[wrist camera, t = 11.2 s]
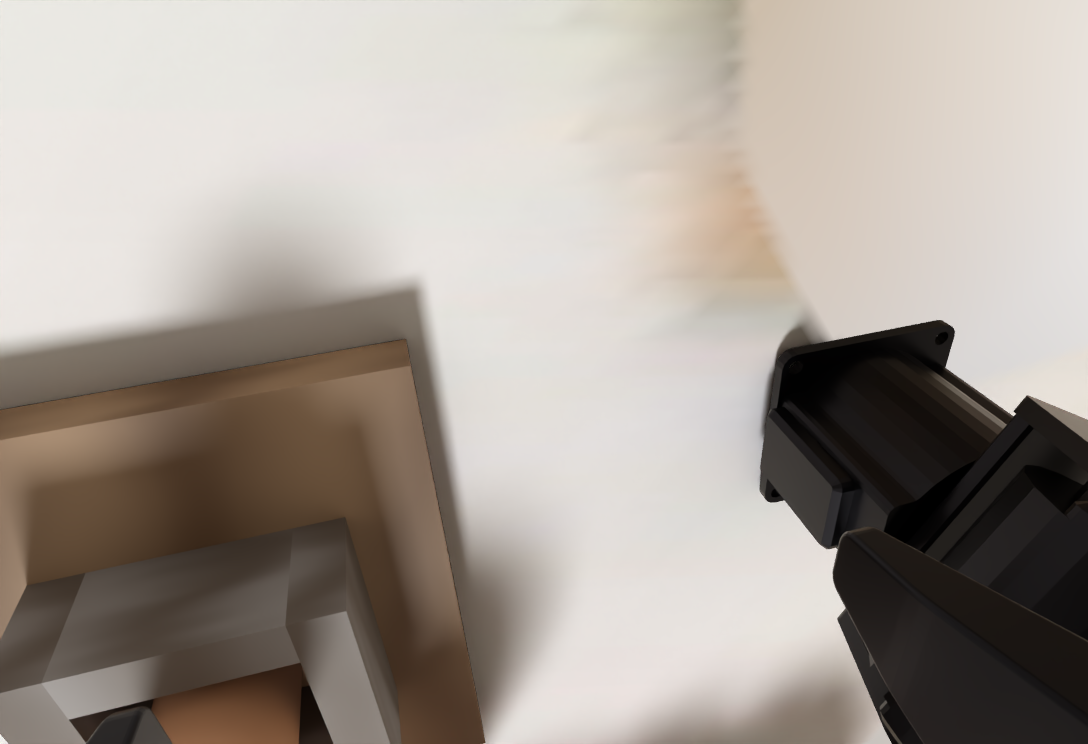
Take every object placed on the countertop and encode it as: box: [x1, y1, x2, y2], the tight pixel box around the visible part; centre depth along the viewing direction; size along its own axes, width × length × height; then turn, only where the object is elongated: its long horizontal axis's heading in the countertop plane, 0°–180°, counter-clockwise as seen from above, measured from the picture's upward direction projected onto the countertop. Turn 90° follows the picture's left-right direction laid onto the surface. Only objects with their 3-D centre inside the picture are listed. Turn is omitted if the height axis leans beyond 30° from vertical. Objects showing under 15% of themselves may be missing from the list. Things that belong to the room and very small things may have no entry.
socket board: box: [0, 339, 485, 744], centre depth 21 cm, size 14×18×5 cm
